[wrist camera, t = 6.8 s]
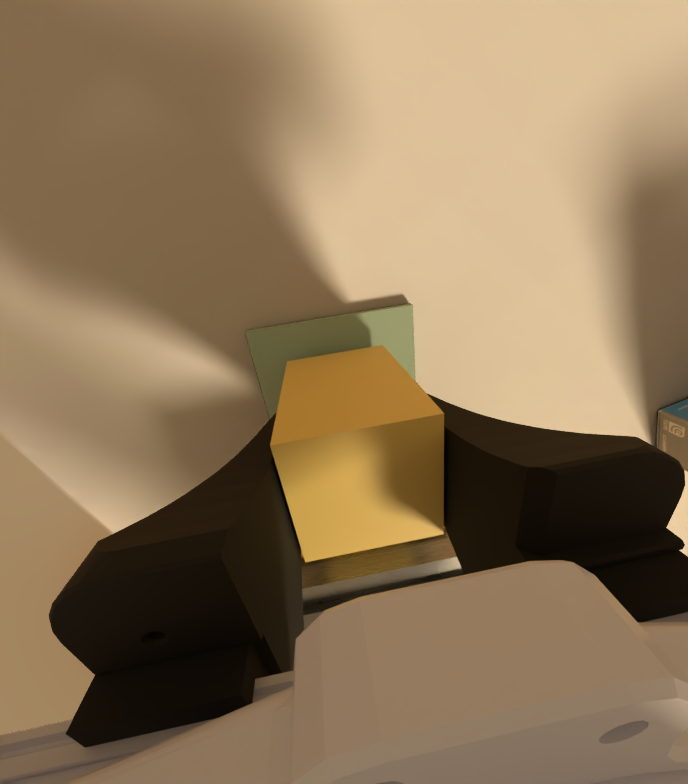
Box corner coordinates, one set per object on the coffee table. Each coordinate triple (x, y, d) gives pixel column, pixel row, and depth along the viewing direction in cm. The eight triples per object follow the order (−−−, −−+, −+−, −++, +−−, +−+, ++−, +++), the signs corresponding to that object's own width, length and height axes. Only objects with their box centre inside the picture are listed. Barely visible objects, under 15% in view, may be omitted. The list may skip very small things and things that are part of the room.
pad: (415, 438, 16) (417, 442, 15) (284, 462, 15) (284, 467, 15) (409, 303, 12) (412, 304, 12) (246, 330, 12) (244, 332, 12)
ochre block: (389, 426, 14) (443, 534, 8) (306, 441, 14) (305, 562, 8) (382, 344, 12) (444, 413, 7) (287, 361, 12) (269, 445, 6)
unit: (434, 536, 19) (489, 656, 13) (297, 564, 19) (293, 699, 13) (433, 445, 16) (504, 550, 10) (268, 476, 15) (246, 603, 10)
